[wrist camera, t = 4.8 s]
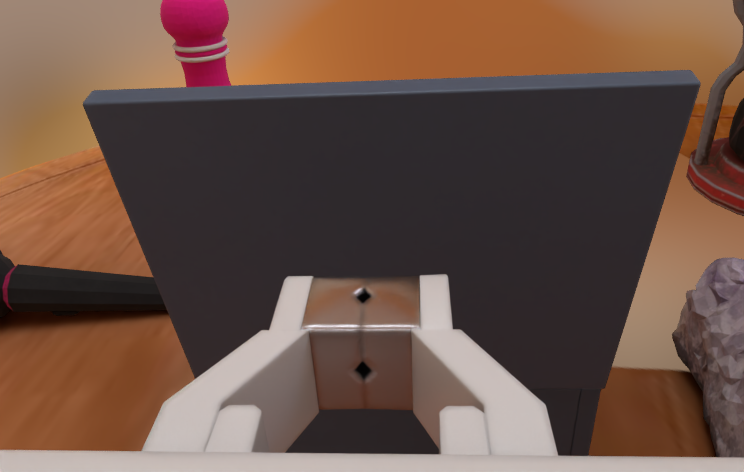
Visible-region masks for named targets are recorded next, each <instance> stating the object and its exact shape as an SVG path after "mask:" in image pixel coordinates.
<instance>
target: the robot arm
mask: <svg viewBox="0 0 744 472" xmlns="http://www.w3.org/2000/svg"><path fill="white" fill-rule="evenodd" d="M330 409H389V410H413V413H414V414H415V416H416V417H417V418H418V420H419V421H420V423H421V424H422V426H423V427H424V428H425V430H426V431H427V433H428V434H429V436H430V437H431V438H432V440H433V441H434V443H435V444H436V445H437V447H438V448H439V454H345V453H285V452H286V451H287V450H288V448H289V447H290V446H291V445H292V444H293V443H294V441H295V440H296V439H297V438H298V437H299V435H300V434H301V433H302V432H303V431H304V430H305V428H306V427H307V426H308V425H309V424H310V423H311V421H312V420H313V419H314V418H315V417H316V415H317V414H318V413H319V410H330ZM0 472H744V458H741V457H636V456H558V453H557V449H556V445H555V441H554V437H553V433H552V429H551V425H550V421H549V416H548V412H547V408H546V405H545V404H544V403H543V402H542V401H541V400H540V399H538V398H537V397H536V396H535V395H534V394H533V393H532V392H531V391H529V390H528V389H527V388H526V387H525V386H524V385H523V384H521V383H520V382H519V381H518V380H517V379H516V378H515V377H514V376H512V375H511V374H510V373H509V372H508V371H507V370H506V369H505V368H503V367H502V366H501V365H500V364H499V363H498V362H497V361H496V360H494V359H493V358H492V357H491V356H490V355H489V354H488V353H487V352H485V351H484V350H483V349H482V348H481V347H480V346H479V345H478V344H476V343H475V342H474V341H473V340H472V339H471V338H470V337H469V336H467V335H466V334H465V333H464V332H463V331H462V330H460V329H453V326H452V315H451V304H450V293H449V282H448V276H447V275H446V274H439V275H420V279H419V276H395V277H364V276H314V277H313V276H288V277H287V278H286V279H285V280H284V282H283V286H282V289H281V292H280V296H279V299H278V302H277V306H276V309H275V312H274V315H273V319H272V322H271V325H270V329H269V330H261V331H260V332H258V333H257V334H256V335H254V336H253V337H252V338H250V339H249V340H248V341H246V342H245V343H244V344H242V345H241V346H239V347H238V348H237V349H235V350H234V351H233V352H231V353H230V354H229V355H227V356H226V357H225V358H223V359H222V360H220V361H219V362H218V363H216V364H215V365H214V366H212V367H211V368H210V369H208V370H207V371H206V372H204V373H203V374H202V375H200V376H199V377H197V378H196V379H195V380H193V381H192V382H191V383H189V384H188V385H187V386H185V387H184V388H183V389H181V390H180V391H178V392H177V393H176V394H174V395H173V396H172V397H170V398H169V399H168V400H166V401H165V402H164V403H163V405H162V407H161V410H160V412H159V414H158V416H157V418H156V420H155V423H154V425H153V427H152V429H151V431H150V433H149V436H148V438H147V440H146V442H145V444H144V447H143V449H142V451H67V450H0Z"/></svg>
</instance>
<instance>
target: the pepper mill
mask: <svg viewBox="0 0 744 472" xmlns="http://www.w3.org/2000/svg"><path fill="white" fill-rule="evenodd" d="M160 15H161V20H162V24H163V27H164V29H165V30H166V31H167V32H168V33H169V34H170V35H171V36H172V37H173V38H174V39H175V40H176V42H175V43H174V44H173V49H174V50H175V53H176V54H175V58H176V59H177V60H178V61H181V64H182V67H183V70H184V73H185V79H186V87H210V86H231V84H230V81H229V78H228V74H227V70H226V60H225V56H226V55H227V54H228V53H229V49H228V48H227V45H226V44H227V39H226V38H225V37H223V36H222V34H223V32H224V30H225V28H226V27H227V24H228V20H229V17H228V10H227V7H226V4H225V2H224V0H163V1H162V4H161V14H160Z"/></svg>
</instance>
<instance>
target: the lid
mask: <svg viewBox="0 0 744 472" xmlns="http://www.w3.org/2000/svg"><path fill="white" fill-rule="evenodd" d="M699 88H700V81H699V80H698V79H697V77H696V76H695V75H694V73H693V72H692V71H691V70H675V71H646V72H618V73H588V74H560V75H559V74H558V75H531V76H502V77H471V78H443V79H413V80H384V81H356V82H326V83H297V84H268V85H239V86H210V87H184V88H183V87H181V88H153V89H152V88H151V89H123V90H95V91H92V92H91V93H90V94H89V96H88V97H87V98H86V100H85V101H84V102H83V106H84V109H85V111H86V114H87V116H88V119H89V121H90V124H91V126H92V129H93V131H94V133H95V136H96V138H97V141H98V143H99V146H100V148H101V150H102V153H103V155H104V158H105V160H106V163H107V165H108V167H109V170H110V172H111V175H112V177H113V180H114V182H115V185H116V187H117V189H118V192H119V194H120V197H121V199H122V202H123V204H124V206H125V209H126V211H127V214H128V216H129V219H130V221H131V223H132V226H133V228H134V231H135V233H136V236H137V238H138V240H139V243H140V245H141V248H142V250H143V253H144V255H145V258H146V260H147V262H148V265H149V267H150V270H151V272H152V275H153V277H154V279H155V282H156V284H157V287H158V289H159V292H160V294H161V296H162V299H163V301H164V304H165V306H166V309H167V311H168V313H169V316H170V318H171V321H172V323H173V326H174V328H175V331H176V333H177V335H178V338H179V340H180V343H181V345H182V348H183V350H184V352H185V355H186V357H187V360H188V362H189V365H190V367H191V369H192V372H193V374H194V377H195V379H196V378H197V377H199V376H200V375H202V374H203V373H204V372H206V371H207V370H208V369H210V368H211V367H212V366H214V365H215V364H216V363H218V362H219V361H220V360H222V359H223V358H225V357H226V356H227V355H229V354H230V353H231V352H233V351H234V350H235V349H237V348H238V347H239V346H241V345H242V344H244V343H245V342H246V341H248V340H249V339H250V338H252V337H253V336H254V335H256V334H257V333H258V332H260V331H261V330H269V329H270V325H271V322H272V319H273V315H274V312H275V309H276V306H277V302H278V299H279V296H280V292H281V289H282V286H283V282H284V280H285V279H286V278H287V277H288V276H313V277H314V276H364V277H395V276H419V279H420V275H439V274H446V275H447V276H448V282H449V293H450V304H451V315H452V326H453V329H460V330H462V331H463V332H464V333H465V334H466V335H467V336H469V337H470V338H471V339H472V340H473V341H474V342H475V343H476V344H478V345H479V346H480V347H481V348H482V349H483V350H484V351H485V352H487V353H488V354H489V355H490V356H491V357H492V358H493V359H494V360H496V361H497V362H498V363H499V364H500V365H501V366H502V367H503V368H505V369H506V370H507V371H508V372H509V373H510V374H511V375H512V376H514V377H515V378H516V379H517V380H518V381H519V382H520V383H521V384H523V385H524V386H525V387H526V388H527V389H603V388H605V386H606V383H607V380H608V376H609V373H610V370H611V367H612V363H613V361H614V357H615V354H616V351H617V348H618V345H619V341H620V338H621V335H622V332H623V329H624V326H625V323H626V319H627V316H628V313H629V310H630V307H631V303H632V300H633V297H634V294H635V291H636V288H637V284H638V281H639V278H640V275H641V272H642V268H643V266H644V262H645V259H646V256H647V253H648V250H649V246H650V243H651V240H652V237H653V234H654V231H655V228H656V224H657V221H658V218H659V215H660V211H661V208H662V205H663V202H664V199H665V195H666V193H667V189H668V186H669V183H670V180H671V177H672V174H673V170H674V167H675V164H676V161H677V158H678V155H679V151H680V148H681V145H682V142H683V139H684V136H685V132H686V129H687V126H688V123H689V120H690V117H691V113H692V110H693V107H694V104H695V100H696V98H697V94H698V91H699Z"/></svg>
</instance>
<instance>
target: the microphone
mask: <svg viewBox="0 0 744 472" xmlns="http://www.w3.org/2000/svg"><path fill="white" fill-rule="evenodd" d="M10 310H12V311H13V312H48V311H52V314H53V315H57V316H60V315H75V314H77V313H79V312H80V311H127V310H167V309H166V306H165V304H164V301H163V299H162V296H161V294H160V292H159V289H158V287H157V284H156V282H155V279H154V278H153V277H143V276H132V275H122V274H112V273H101V272H91V271H81V270H70V269H60V268H50V267H39V266H29V265H17V266H14V264H13V263H12V261H11V260H10V259H8V258H7V257H5V256H3V254H2V252H1V251H0V318H1V317H3V316H5V315H6V314H7V313H8V312H9V311H10Z"/></svg>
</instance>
